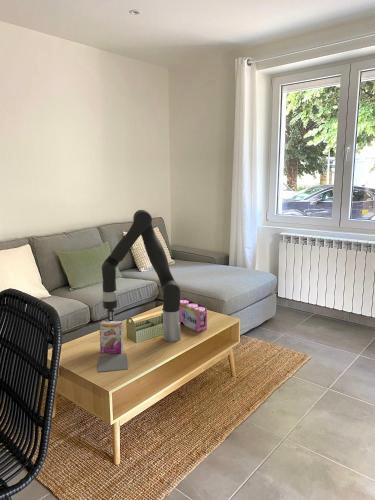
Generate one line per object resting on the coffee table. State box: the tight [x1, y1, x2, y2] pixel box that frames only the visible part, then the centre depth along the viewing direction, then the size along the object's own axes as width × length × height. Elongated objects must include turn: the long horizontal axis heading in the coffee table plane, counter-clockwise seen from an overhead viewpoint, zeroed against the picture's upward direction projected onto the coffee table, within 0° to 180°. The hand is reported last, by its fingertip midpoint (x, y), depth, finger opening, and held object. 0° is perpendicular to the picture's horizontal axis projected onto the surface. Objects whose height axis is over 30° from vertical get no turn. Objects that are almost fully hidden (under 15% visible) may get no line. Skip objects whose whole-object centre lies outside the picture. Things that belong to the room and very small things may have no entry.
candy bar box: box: [99, 320, 124, 355], centre depth 202 cm, size 11×5×16 cm, turn 86°
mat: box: [97, 352, 129, 373], centre depth 192 cm, size 14×16×1 cm
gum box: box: [179, 297, 208, 332], centre depth 237 cm, size 24×8×14 cm, turn 37°
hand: (111, 329), depth 210 cm, fingers closed
